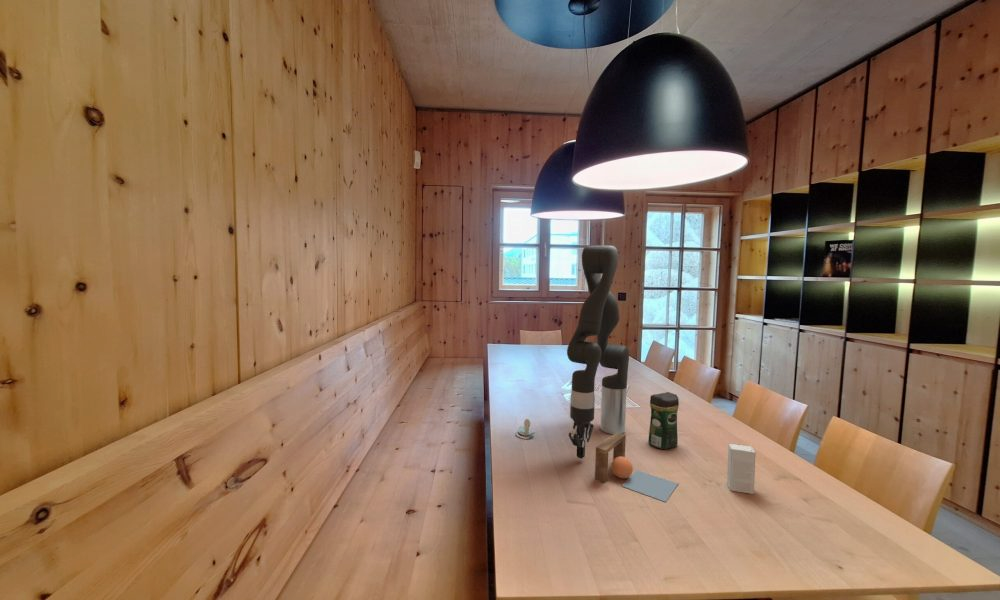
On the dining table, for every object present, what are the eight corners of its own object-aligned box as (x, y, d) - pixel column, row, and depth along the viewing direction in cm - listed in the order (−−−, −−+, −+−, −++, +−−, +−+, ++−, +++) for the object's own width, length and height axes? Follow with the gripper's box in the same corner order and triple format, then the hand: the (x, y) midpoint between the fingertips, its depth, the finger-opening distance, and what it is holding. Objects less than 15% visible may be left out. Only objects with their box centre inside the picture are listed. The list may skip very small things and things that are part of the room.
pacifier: (524, 441, 142) (537, 437, 146) (524, 424, 142) (537, 421, 146) (512, 435, 148) (524, 431, 152) (512, 418, 148) (524, 415, 151)
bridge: (594, 479, 116) (595, 447, 116) (615, 461, 128) (616, 432, 127) (604, 483, 114) (605, 450, 114) (624, 464, 126) (625, 434, 125)
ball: (629, 478, 119) (612, 465, 123) (638, 462, 118) (621, 449, 121) (622, 485, 115) (605, 471, 118) (632, 469, 113) (613, 455, 116)
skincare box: (749, 487, 114) (752, 446, 113) (753, 494, 110) (756, 452, 109) (725, 483, 116) (728, 443, 115) (729, 490, 112) (731, 449, 111)
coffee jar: (662, 438, 147) (664, 388, 146) (681, 446, 140) (683, 394, 139) (643, 442, 143) (646, 392, 142) (662, 451, 136) (664, 398, 135)
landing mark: (636, 470, 122) (637, 470, 122) (678, 484, 115) (678, 483, 115) (621, 486, 113) (621, 485, 113) (665, 502, 105) (665, 501, 105)
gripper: (583, 412, 119) (581, 468, 120) (602, 401, 129) (600, 453, 130) (561, 406, 123) (559, 460, 125) (581, 396, 134) (579, 447, 135)
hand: (580, 457), depth 127 cm, fingers closed
